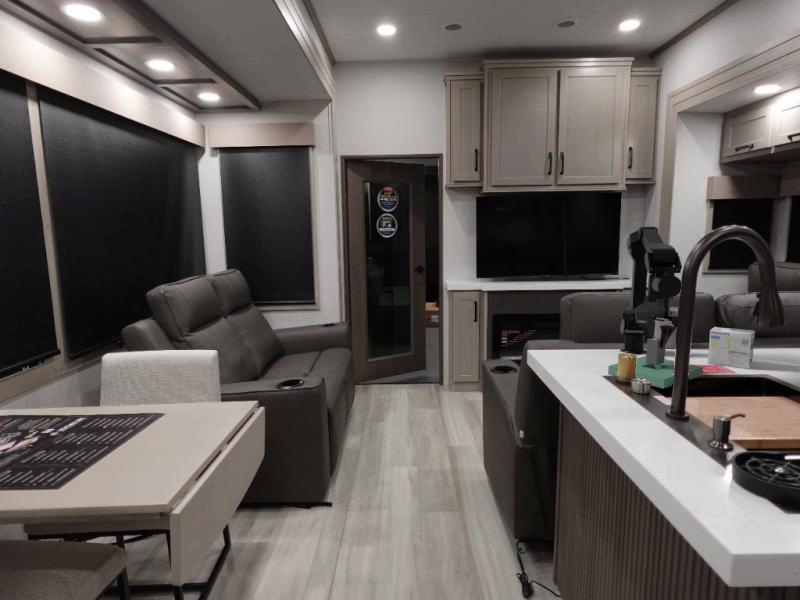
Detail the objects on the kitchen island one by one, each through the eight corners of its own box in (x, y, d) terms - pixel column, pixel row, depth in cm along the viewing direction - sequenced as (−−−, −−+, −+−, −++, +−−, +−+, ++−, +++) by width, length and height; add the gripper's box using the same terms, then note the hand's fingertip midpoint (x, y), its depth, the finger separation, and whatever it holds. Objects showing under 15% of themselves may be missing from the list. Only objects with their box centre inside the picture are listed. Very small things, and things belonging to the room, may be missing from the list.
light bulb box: (752, 365, 144) (755, 330, 143) (749, 369, 139) (752, 333, 138) (711, 359, 151) (713, 326, 150) (707, 363, 147) (709, 329, 145)
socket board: (647, 363, 148) (647, 355, 147) (702, 375, 134) (702, 366, 134) (608, 374, 137) (608, 365, 137) (663, 388, 124) (664, 379, 123)
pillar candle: (664, 341, 177) (665, 301, 175) (689, 347, 168) (691, 305, 166) (645, 345, 173) (647, 304, 171) (670, 350, 164) (672, 307, 162)
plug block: (653, 360, 138) (655, 336, 137) (664, 363, 135) (665, 338, 134) (646, 362, 135) (647, 338, 134) (656, 365, 133) (657, 340, 132)
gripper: (611, 292, 136) (609, 345, 138) (678, 298, 121) (674, 358, 123) (633, 289, 142) (631, 340, 144) (700, 295, 126) (696, 352, 129)
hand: (656, 347), depth 135 cm, fingers closed on plug block, 3 cm apart
